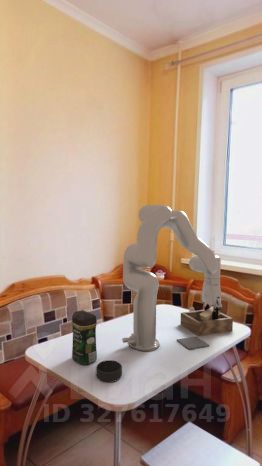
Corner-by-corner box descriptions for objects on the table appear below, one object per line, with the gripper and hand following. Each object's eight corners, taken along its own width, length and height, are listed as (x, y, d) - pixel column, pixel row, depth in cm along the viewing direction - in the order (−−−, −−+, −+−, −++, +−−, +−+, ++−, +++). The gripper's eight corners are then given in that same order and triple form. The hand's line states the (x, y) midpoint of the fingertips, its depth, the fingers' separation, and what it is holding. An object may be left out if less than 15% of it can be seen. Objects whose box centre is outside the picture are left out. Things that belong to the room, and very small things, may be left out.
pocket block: (198, 336, 149) (198, 323, 148) (180, 324, 164) (180, 312, 163) (232, 330, 156) (232, 318, 155) (212, 319, 171) (212, 308, 170)
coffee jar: (68, 358, 126) (68, 311, 125) (86, 352, 131) (85, 307, 130) (82, 367, 119) (82, 317, 117) (100, 361, 124) (100, 313, 122)
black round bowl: (127, 376, 113) (127, 365, 113) (107, 386, 107) (107, 374, 106) (110, 367, 119) (110, 357, 119) (90, 376, 113) (90, 365, 113)
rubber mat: (188, 349, 134) (188, 348, 134) (176, 340, 143) (176, 339, 143) (209, 346, 138) (209, 344, 138) (196, 337, 147) (196, 336, 147)
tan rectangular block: (207, 322, 157) (205, 317, 156) (201, 319, 161) (199, 314, 161) (220, 314, 159) (218, 309, 159) (214, 311, 164) (212, 306, 163)
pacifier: (192, 322, 167) (199, 319, 171) (192, 310, 167) (199, 307, 171) (181, 318, 173) (188, 316, 177) (181, 307, 172) (188, 304, 176)
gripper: (195, 277, 166) (194, 312, 167) (216, 285, 150) (215, 323, 151) (208, 276, 168) (207, 311, 170) (229, 284, 153) (228, 321, 154)
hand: (211, 316), depth 160 cm, fingers open, 5 cm apart
